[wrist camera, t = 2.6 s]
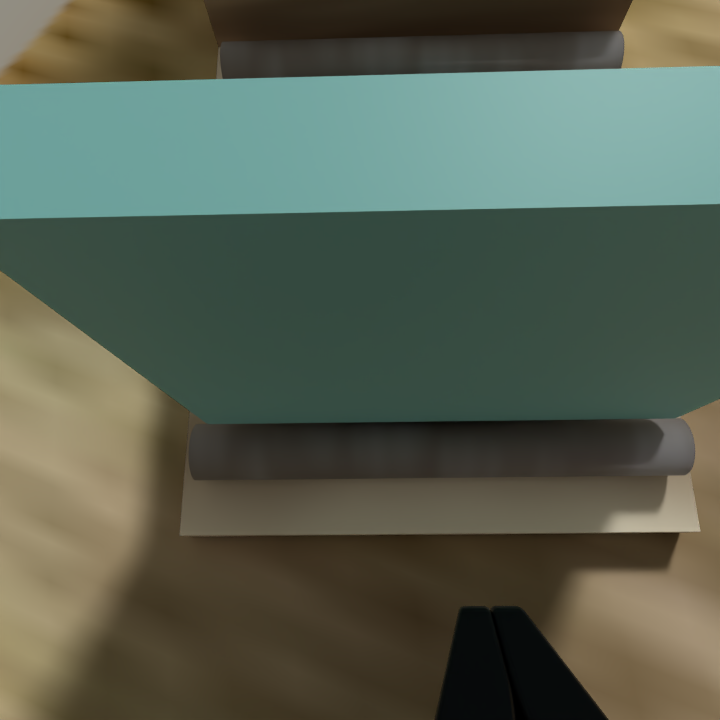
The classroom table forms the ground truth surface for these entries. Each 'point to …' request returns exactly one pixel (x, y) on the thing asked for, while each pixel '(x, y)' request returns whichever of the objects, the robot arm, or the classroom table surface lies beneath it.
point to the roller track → (434, 438)
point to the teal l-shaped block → (381, 239)
